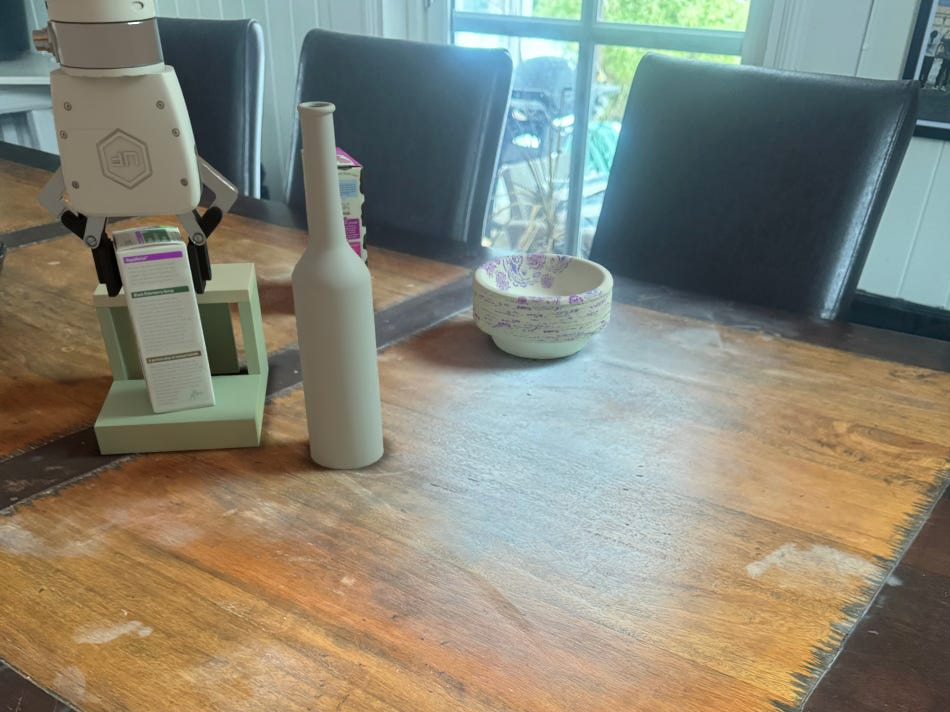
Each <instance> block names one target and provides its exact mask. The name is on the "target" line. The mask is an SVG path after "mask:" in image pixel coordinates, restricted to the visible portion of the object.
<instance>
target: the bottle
mask: <svg viewBox="0 0 950 712" xmlns="http://www.w3.org/2000/svg"><path fill="white" fill-rule="evenodd" d="M296 110H297V112H298V113H299V120H300V121H299V122H300V131H301V132H300V133H301V141H302V149H303V153H304V164H305V175H306V185H307V202H308V221H307V226H308V225H309V233H308V244H307V246H306V248H305V250H304V252H303V253H302V255H301V256H300V258H299V259H298V261H297V262H296V264H295V266H294V267H293V270H292V273H291V287H292V296H293V305H294V306H293V307H294V315H295V324H296V332H297V343H298V352H299V362H300V370H301V378H302V386H303V397H304V407H305V415H306V426H307V432H308V441H309V450H310V456H311V457H310V458H311V459H312V460H313V461H314V462H315V463H316V464H318V465H320V466H322V467H325V468H329V469H334V470H352V469H361V468H364V467H367V466H370V465H372V464H374V463H376V462H377V461H379V460H380V459H381V458H382V457H383V455H384V452H385V451H384V435H383V433H384V432H383V420H382V419H383V417H382V407H381V406H382V404H381V391H380V377H379V366H378V353H377V339H376V327H375V325H376V323H375V315H374V314H375V312H374V311H375V310H374V301H373V286H372V275H371V271H370V270H369V267H368V268H367V266H366V264H365V263H364V261H363V260H362V259H361V258H360V257H359V256H358V255H357V254H356V253H355V251H354V250H353V249H352V248H351V246H350V245H349V244H348V242H347V239H346V234H345V227H344V219H343V212H342V205H341V198H340V191H339V180H338V169H337V158H336V147H337V146H336V138H335V125H334V115H333V113H334V112H335V111H336V105H335V104H334V103H332V102H327V101H307V102H302V103H298V105H296Z"/></svg>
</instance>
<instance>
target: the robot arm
mask: <svg viewBox="0 0 950 712" xmlns="http://www.w3.org/2000/svg"><path fill="white" fill-rule="evenodd" d="M44 4H45V8H46V12H47V16H48V19H49V20H47V21H46V26H45V27H42V29H33V30H32V32H31V34H32V41H33V45H34V48H35V50H36V51H37V52H47V53H48V54H52V56H53V57H55V62H56V63H57V64H59V67H57V68H55V69H53V70H51V71H50V72H49V84H50V85H49V87H50V89H49V90H50V99H51V108H52V117H53V124H54V130H55V136H56V137H55V138H56V141H57V148H58V155H59V160H60V165H59V167H58V168H57V169H56V170H55V172H54V173H53V174H52V176H51V177H50V178H49V180H48V181H47V183H46V184H45V185H44V186H43V188H42V189H41V190H40V192H39V193H38V194H37V196H36V200H37V202H38V204H39V205H40V206H42V207H43V209H45V210H46V211H47V212H48V213H50V214H51V215H52V216H53V217H55V218H56V219H58V220H59V221H61V224H62V225H63V226H64V227H65V228H66V229H68V230H69V231H71V232H72V233H73V234H74V235H75V236H77V237H78V238H80V240H82V241H83V243H84V245H85V246H86V247H87V248H89V249H90V250H91V251H90V252H91V254H92V259H93V263H94V268H95V272H96V275H97V281H98V284H99V283H100V284H106V288H107V292H108V296H109V297H116V296H117V295H118V294H119V292H120V290H121V288H122V286H123V285H122V280H121V276H120V272H119V267H118V263H117V259H116V254H115V250H114V245H113V240H112V238H111V237H109V234H108V233H107V227H108V223H109V218H113V217H114V218H115V217H153V216H154V217H157V216H175V217H176V218H177V220H178V221H179V223H180V225H181V226H182V228H183V229H184V231H185V233H186V234H187V239H188V243H187V245H186V249H187V254H188V260H189V265H190V270H191V275H192V281H193V286H194V291H195V293H197V294H203V293H204V290H205V287H206V281H211V279H212V272H211V266H210V264H211V260H210V254H209V249H208V242H207V240H208V238H209V237H210V236H211V235H212V233H214V231H215V230H216V228H217V227H218V226H219V225H220V223H221V222H222V220H223V218H224V217H225V216H226V214H227V213H228V212H229V211H230V209H231V207H233V205H234V203H235V202H236V200H237V199H238V196H239V190H238V188H237V186H235V184H233V183H232V182H231V181H230V180H228V179H227V178H226V177H225V176H224V175H222V173H220V172H219V171H218V170H217V169H215V168H214V166H212V165H211V164H210V163H208V162H207V161H206V160H205V159H203V158H202V157H201V156H200V155H199V154H198V149H197V144H196V141H195V136H194V131H193V128H192V123H191V120H190V116H189V111H188V108H187V105H186V100H185V98H184V95H183V91H182V88H181V84H180V82H179V79H178V76H177V74H176V71H175V68H174V66H172V65H168V64H165V60H164V54H163V49H162V43H161V37H160V31H159V26H158V18H157V17H156V16H157V13H156V7H155V3H154V0H44ZM204 185H205V186H206V187H207V188H208V189H210V190H211V192H213V193H214V194H215V198H214V200H213V202H212V203H211V204H210V206H209V207H208V208H207V209H206V210H205V212H204V213H203V215H202V214H201V212H200V211H199V209H198V205H199V204H200V201H201V196H202V194H203V192H204ZM65 190H66V194H67V197H68V200H69V202H67V200H66V199H65V198H64V195H63V194H64V193H65ZM69 203H70V204H69Z"/></svg>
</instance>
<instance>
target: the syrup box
mask: <svg viewBox="0 0 950 712" xmlns="http://www.w3.org/2000/svg"><path fill="white" fill-rule="evenodd" d="M111 237H112V238H111V239H112V241H113V245H114V250H115V254H116V259H117V263H118V267H119V272H120V276H121V280H122V285H123V289H124V293H125V298H126V302H127V307H128V311H129V316H130V320H131V324H132V328H133V332H134V337H135V341H136V345H137V349H138V353H139V358H140V362H141V366H142V370H143V375H144V378H143V379H145V383H146V387H147V391H148V394H149V398H150V402H151V405H152V409H153V412H154V413H162V412H173V411H181V410H188V409H194V408H201V407H207V406H213V405H215V397H214V391H213V386H212V380H211V376H212V374H210V368H209V363H208V358H207V352H206V346H205V341H204V336H203V331H202V326H201V321H200V315H199V311H198V306H197V300H196V296H195V291H194V286H193V281H192V275H191V270H190V265H189V260H188V254H187V245H186V243H185V241H184V239H183V237H182V234H181V232H180V230H179V227H178V226H176V225H146V226H139V227H132V228H126V229H121V230H112V231H111Z"/></svg>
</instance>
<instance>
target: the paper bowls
mask: <svg viewBox="0 0 950 712" xmlns="http://www.w3.org/2000/svg"><path fill="white" fill-rule="evenodd" d="M613 287H614V279H613V275H612V274H611V272H610V271H609V270H608V269H607V268H605V267H604V266H603V265H601V264H599V263H597V262H594V261H592V260H589V259H586V258H582V257H578V256H574V255H568V254H562V253H561V254H560V253H550V252H549V253H547V252H532V253H531V252H529V253H518V254H511V255H505V256H500V257H496V258H493V259H490V260H488V261H485V262H483V263H482V264H480V265H479V266H478V267H477V268H476V269H475V271H474V273H473V275H472V319H473V322H474V324H475V325H476V327H477V328H479V330H481V331H482V332H484V333H485V334H487V335H490V336H491V339H492V340H493V342H494V343H495V345H496V346H497V348H499V349H500V350H501V351H503V352H505V353H507V354H509V355H512V356H515V357H519V358H523V359H532V360H552V359H560V358H566V357H569V356H571V355H574V354H576V353H578V352H579V351H580V350H582V349H583V348H584V347H585V346H586V344H587V343H588V341H589V340H590V338H591V337H594V336H596V335H597V334H599V333H602V332H603V331H604V330H605V329H606V328H607V327H608V326H609V323H610V320H611V311H612V302H613V301H612V300H613Z"/></svg>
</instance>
